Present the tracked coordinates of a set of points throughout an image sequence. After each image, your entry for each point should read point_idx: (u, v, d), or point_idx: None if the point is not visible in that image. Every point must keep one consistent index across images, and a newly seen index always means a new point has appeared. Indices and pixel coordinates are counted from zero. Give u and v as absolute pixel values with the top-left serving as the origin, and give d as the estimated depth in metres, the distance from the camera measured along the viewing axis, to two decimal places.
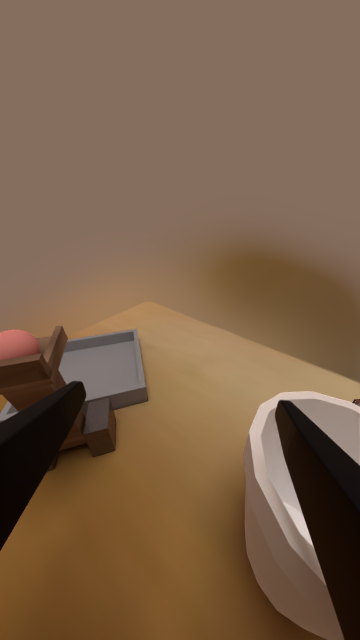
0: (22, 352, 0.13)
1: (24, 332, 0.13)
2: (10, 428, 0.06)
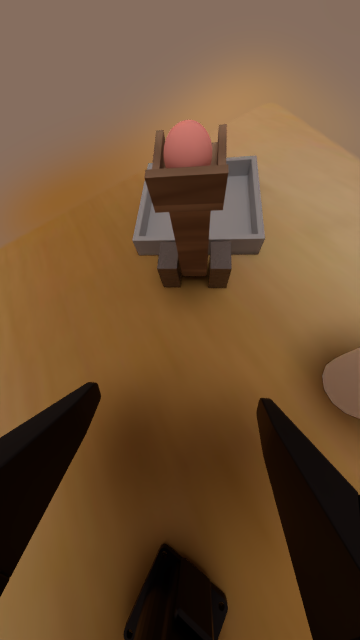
0: (204, 159, 0.11)
1: (202, 126, 0.10)
2: (31, 431, 0.06)
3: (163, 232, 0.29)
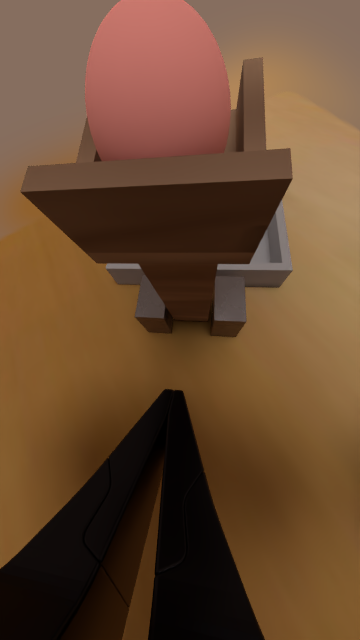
0: (207, 136, 0.03)
1: None
2: (140, 445, 0.05)
3: None
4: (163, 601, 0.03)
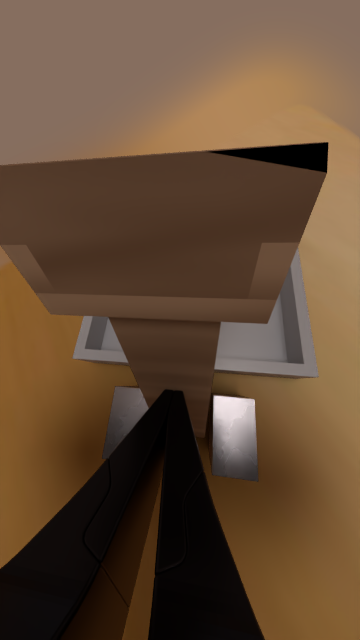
0: None
1: None
2: (140, 445, 0.05)
3: None
4: (163, 601, 0.03)
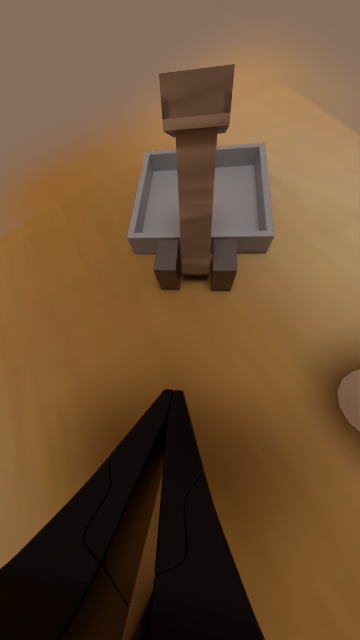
0: None
1: None
2: (140, 445, 0.05)
3: (161, 229, 0.26)
4: (163, 601, 0.03)
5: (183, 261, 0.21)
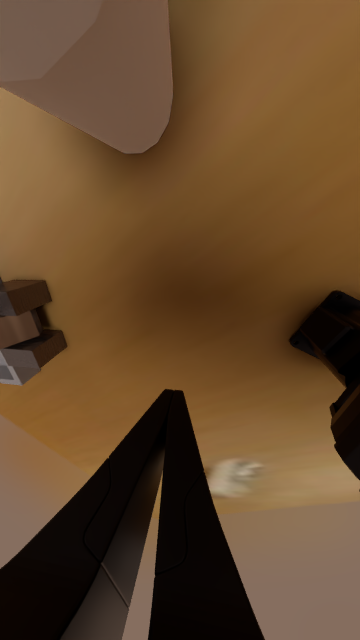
0: None
1: None
2: (140, 445, 0.05)
3: None
4: (163, 601, 0.03)
5: (22, 339, 0.20)
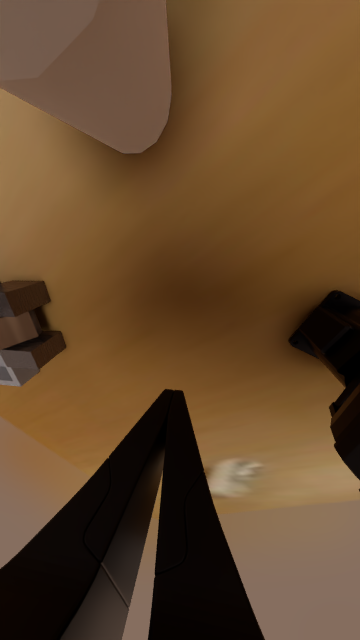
0: None
1: None
2: (140, 445, 0.05)
3: None
4: (163, 601, 0.03)
5: (21, 340, 0.20)
